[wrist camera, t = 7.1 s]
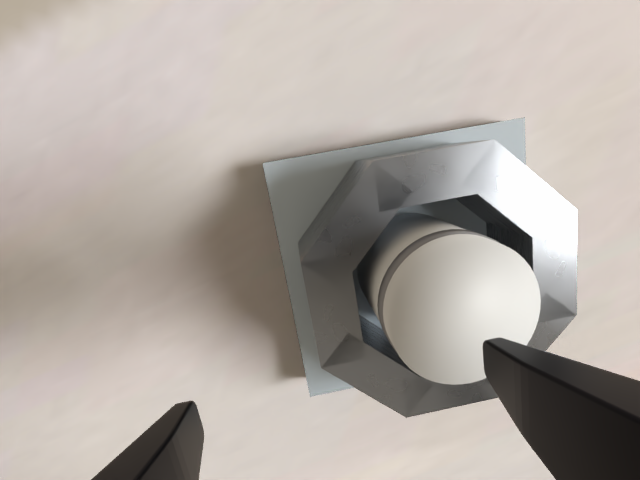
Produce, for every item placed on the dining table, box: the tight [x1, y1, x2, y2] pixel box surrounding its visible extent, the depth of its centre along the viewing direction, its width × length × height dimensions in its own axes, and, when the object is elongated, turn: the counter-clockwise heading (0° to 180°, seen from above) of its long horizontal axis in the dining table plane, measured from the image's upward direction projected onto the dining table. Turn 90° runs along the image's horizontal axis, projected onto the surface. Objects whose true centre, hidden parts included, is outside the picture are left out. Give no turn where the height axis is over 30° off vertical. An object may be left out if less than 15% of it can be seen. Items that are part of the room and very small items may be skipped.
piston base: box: [263, 117, 541, 397], centre depth 14 cm, size 11×11×6 cm
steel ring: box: [298, 139, 578, 418], centre depth 14 cm, size 10×10×3 cm
